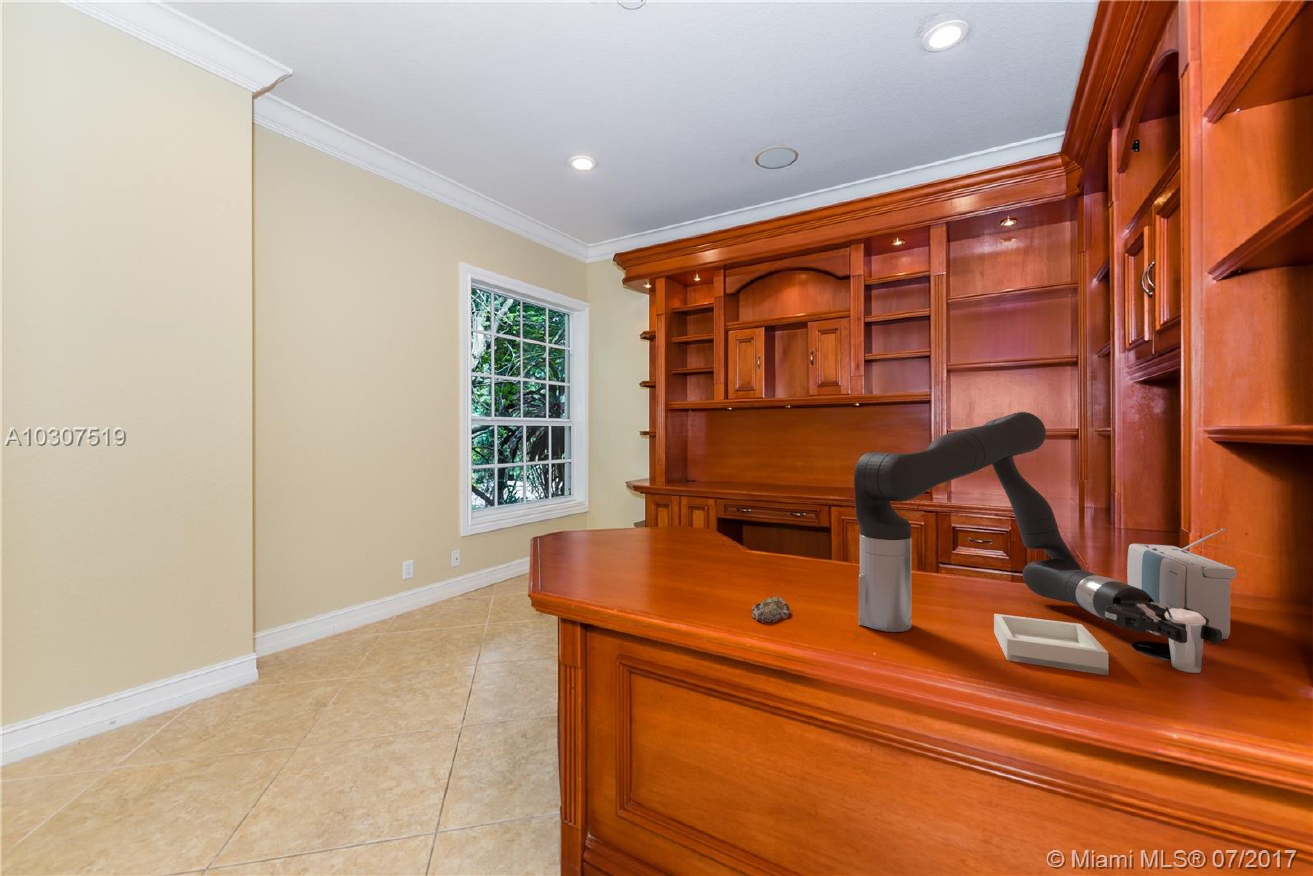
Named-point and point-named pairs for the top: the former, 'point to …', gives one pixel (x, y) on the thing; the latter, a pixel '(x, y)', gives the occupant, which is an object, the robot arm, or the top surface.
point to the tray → (1050, 644)
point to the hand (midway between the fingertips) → (1201, 637)
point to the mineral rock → (771, 610)
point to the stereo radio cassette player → (1183, 580)
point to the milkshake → (1190, 652)
